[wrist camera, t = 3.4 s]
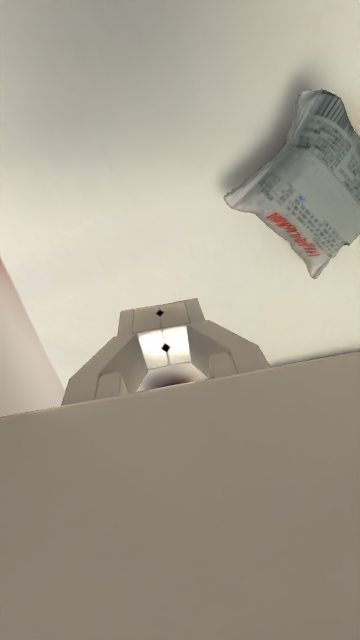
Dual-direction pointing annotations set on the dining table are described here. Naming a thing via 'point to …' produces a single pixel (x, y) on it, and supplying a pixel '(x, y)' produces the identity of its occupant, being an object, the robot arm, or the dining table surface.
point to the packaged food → (310, 182)
